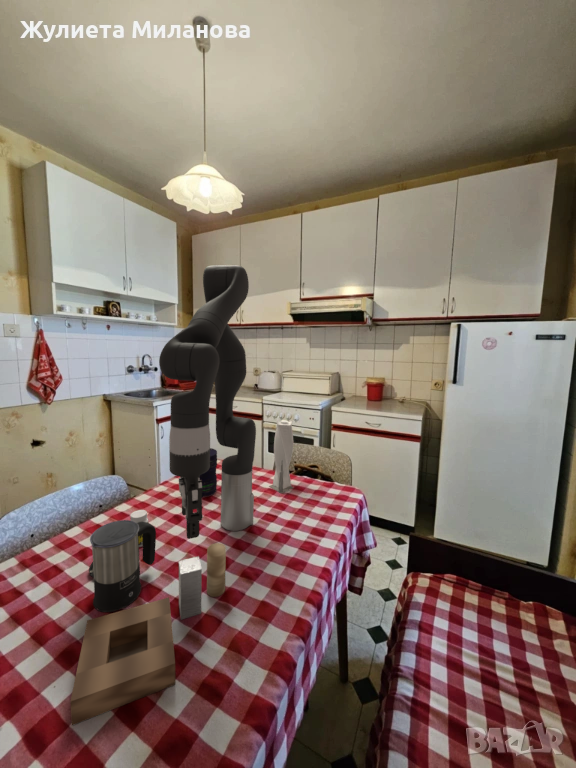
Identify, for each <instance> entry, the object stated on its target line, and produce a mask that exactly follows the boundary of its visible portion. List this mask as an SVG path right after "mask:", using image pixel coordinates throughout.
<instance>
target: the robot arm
mask: <svg viewBox="0 0 576 768" xmlns="http://www.w3.org/2000/svg"><path fill="white" fill-rule="evenodd" d="M202 281H203V282H202V284H203V286H202V287H203V293H204V298H205V299H204V300H205V303H204V304H203V305H201V306H200V307H199V308H198V309H197V310H196V311H195V312H194V315H193V316H192V318H191V320H190V322H189V323H188V325H187V326H186V327H185V328H183V329H182V330H181V331H180V332H178V333H177V334H176V335H175V336H173V337H172V338H171V339H169V340H168V341H167V342H166V344H165V345H164V346H163V348H162V350H161V352H160V354H159V360H158V361H159V368H160V371H161V373H162V374H163V375H164V376H165V378H168V379H170V380H175V381H191V382H192V381H194V382H195V381H196V384H195V386H194V388H193V389H192V390H190V391H183V392H179V393H175V394H174V395H173V396H172V397H171V399H170V428H169V439H168V440H169V447H168V448H169V472H170V473H171V474H172V475H173V476H175V477H178V491H179V493H180V494H179V495H180V497H181V514H182V516H185V521H186V538H187V539H188V540H191V539H194V538H198V537H199V536H200V521H203V497H202V492H203V491H202V481H201V480H200V475H201V474H204V473H205V472H207V471H208V470H209V468H210V448H211V432H210V431H211V429H210V402H211V401H210V400H211V396H212V392H213V391H212V390H213V387H214V391H215V392H214V393H215V435H216V440H217V442H218V443H219V445H220V446H223V447H226V448H232V449H237V454H232V455H230V456H227V457H225V458H224V459H223V460H222V461H221V482H220V483H221V485H220V487H221V491H220V492H221V494H220V496H221V497H220V525H221V527H222V528H223V529H225V530H227V531H232V532H236V531H242V530H245V529H247V528H248V527H249V526H252V525H254V507H255V506H254V505H255V503H254V502H255V500H254V499H255V496H254V493H253V491H252V490H253V464H254V460H255V450H256V448H255V447H256V439H257V438H256V435H257V427H256V426H257V425H256V423H255V421H254V419H252V418H248V417H240V416H235V415H234V411H233V409H234V400H235V398H236V395H237V393H238V392H239V391H240V388H241V387H242V385H243V383H244V382H245V380H246V378H247V358H246V357H247V355H246V350H245V348H244V346H243V344H242V341H240V340H239V338H238V336H237V334H235V332H234V331H233V329H232V328H231V327H230V325H229V324H228V323H229V322H230V320H231V318H232V317H233V316H234V315H235V314H236V313H237V311H238V310H239V309H240V307H241V306H242V305H243V304H244V302H245V301H246V299H247V297H248V294H249V289H250V288H249V285H250V284H249V276H248V272H247V270H246V269H245V268H244V267H243V266H241V265H239V264H238V265H236V264H226V265H225V264H224V265H223V264H222V265H219V264H218V265H208V266H206V267H205V269H204V271H203V276H202ZM194 510H196V512H194Z"/></svg>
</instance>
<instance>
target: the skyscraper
mask: <svg viewBox="0 0 576 768" xmlns="http://www.w3.org/2000/svg"><path fill="white" fill-rule="evenodd" d="M292 425H293V420H290V421H288V420H286V419H284V420H283V419H282V420H280V415H278V416H277V419H276V428H275V434H274V439H273V440H274V441H273V442H274V443H273V457H274V458H273V459H274V465H275V472H274V476H273V482H272V484H271V485H269V486H268V487H269V488H271V489H273V490H275V491H276V492H278V493H280V494H282V493H285V492H287V491H290V490H292V489H295V487H294V486H292V482H291V481H292V480H291V476H290V470H289V467H290V465H291V460H292V458H293V457H292V456H293V453H294V452H293V451H294V433H293V426H292Z"/></svg>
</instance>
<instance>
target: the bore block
mask: <svg viewBox="0 0 576 768" xmlns="http://www.w3.org/2000/svg"><path fill="white" fill-rule="evenodd" d="M170 602H171V601H170V596H169V597H165V598H162V599H159V600H154V601H152V602H148V603H144V604H141V605H138V606H133V607H130V608H126V609H123V610H122V609H121V610H118V611H114V612H113V613H112V612H110V613H107V614H105V615H102V616H98V617H94V618H90V619H87V620H86V625H85V629H84V630H85V631H84V635H83V640H82V644H81V649H80V654H79V658H78V664H77V669H76V674H75V679H74V683H73V687H72V692H71V697H70V701H69V703H70V716H71V717H70V718H71V726H74V725H77V724H79V723H82V722H85V721H86V720H89V719H92V718H95V717H96V716H100V715H102V714H104V713H107V712H110V711H112V710H114V709H118V708H120V707H123V706H124V705H125V706H126V705H128V704H129V703H132V702H135V701H137V700H140V699H143V698H145V697H148V696H150V695H152V694H155V693H158V692H160V691H162V690H165V689H168V688H170V687H173V686H175V685H176V658H175V657H176V656H175V649H174V648H175V646H174V635H173V626H172V624H173V623H172V615H171V613H172V612H171V603H170Z"/></svg>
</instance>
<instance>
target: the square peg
mask: <svg viewBox="0 0 576 768" xmlns="http://www.w3.org/2000/svg"><path fill="white" fill-rule="evenodd" d="M202 570H203V569H202V564H201V560H200V556H199V555H198V556H194V557H190V558H186V559H182V560H178V608H179V616H180V621H182V620H186V619H188V618H192V617H194V616H198V615H201V614H202V589H203V588H202V587H203V586H202V574H203V573H202Z"/></svg>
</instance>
